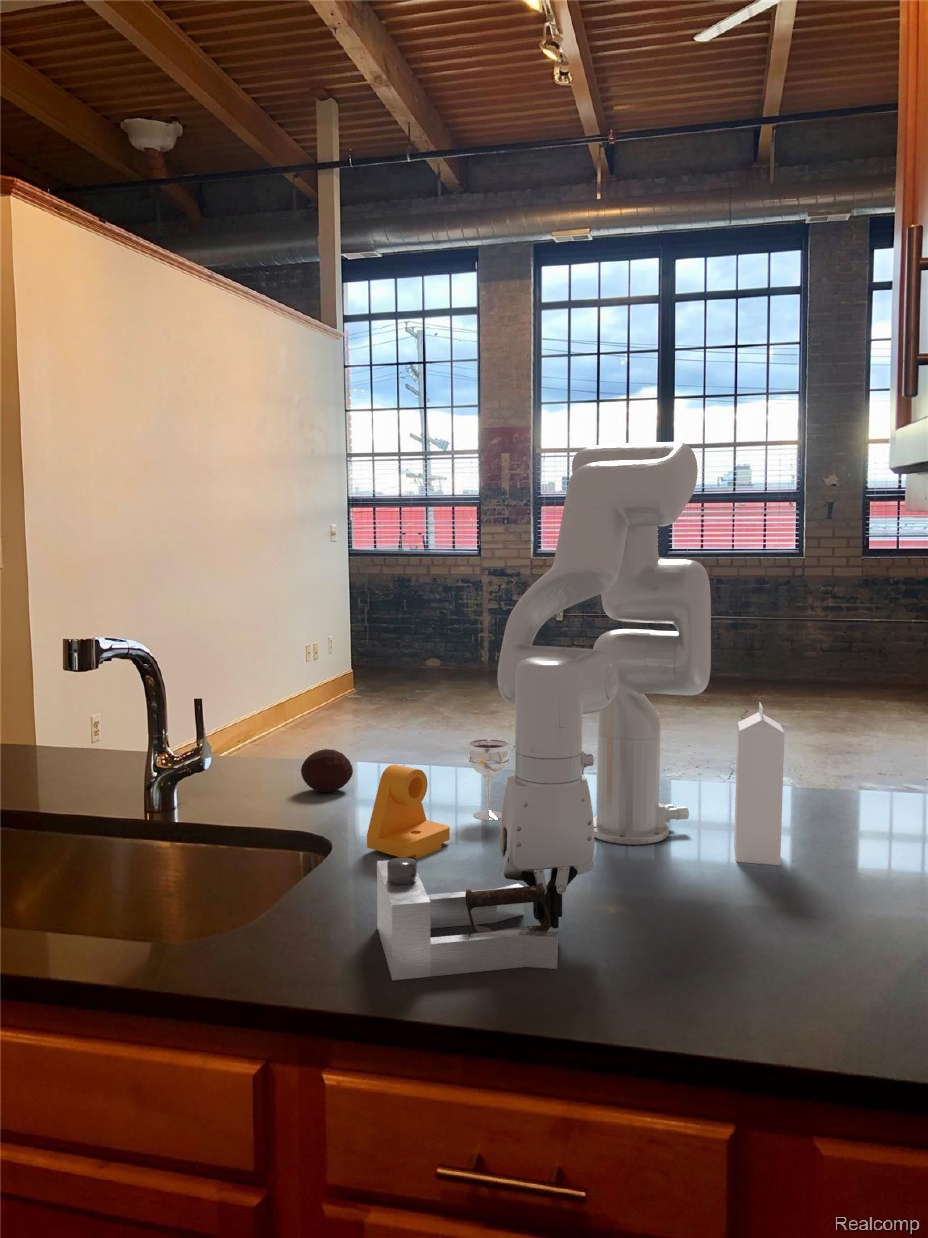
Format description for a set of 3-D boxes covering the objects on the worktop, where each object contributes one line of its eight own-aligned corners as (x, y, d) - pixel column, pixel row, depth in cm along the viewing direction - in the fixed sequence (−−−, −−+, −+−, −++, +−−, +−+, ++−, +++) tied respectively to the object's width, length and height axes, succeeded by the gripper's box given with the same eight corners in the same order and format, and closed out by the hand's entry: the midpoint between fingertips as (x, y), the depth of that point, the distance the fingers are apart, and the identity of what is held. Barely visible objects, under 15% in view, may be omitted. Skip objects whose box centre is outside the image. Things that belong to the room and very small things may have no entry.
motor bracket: (521, 911, 111) (521, 831, 110) (560, 968, 96) (561, 877, 95) (376, 923, 107) (375, 841, 106) (393, 986, 92) (393, 890, 91)
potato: (301, 786, 167) (300, 745, 166) (352, 784, 168) (351, 743, 168) (301, 799, 159) (300, 755, 158) (354, 796, 160) (354, 753, 160)
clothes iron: (565, 970, 98) (546, 887, 96) (463, 998, 97) (442, 915, 95) (551, 935, 104) (533, 858, 102) (456, 961, 104) (436, 884, 102)
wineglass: (465, 821, 146) (465, 747, 145) (469, 808, 153) (470, 738, 152) (507, 822, 146) (508, 749, 144) (510, 810, 152) (510, 739, 151)
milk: (735, 862, 128) (739, 708, 126) (733, 848, 134) (736, 700, 132) (781, 866, 126) (785, 710, 124) (777, 851, 132) (781, 702, 130)
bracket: (404, 864, 127) (403, 780, 126) (367, 853, 131) (366, 772, 130) (452, 844, 135) (452, 765, 134) (415, 834, 140) (415, 758, 139)
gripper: (598, 755, 107) (596, 904, 109) (475, 763, 104) (476, 917, 106) (623, 771, 100) (621, 931, 102) (492, 780, 96) (493, 946, 98)
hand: (547, 923), depth 104 cm, fingers closed
